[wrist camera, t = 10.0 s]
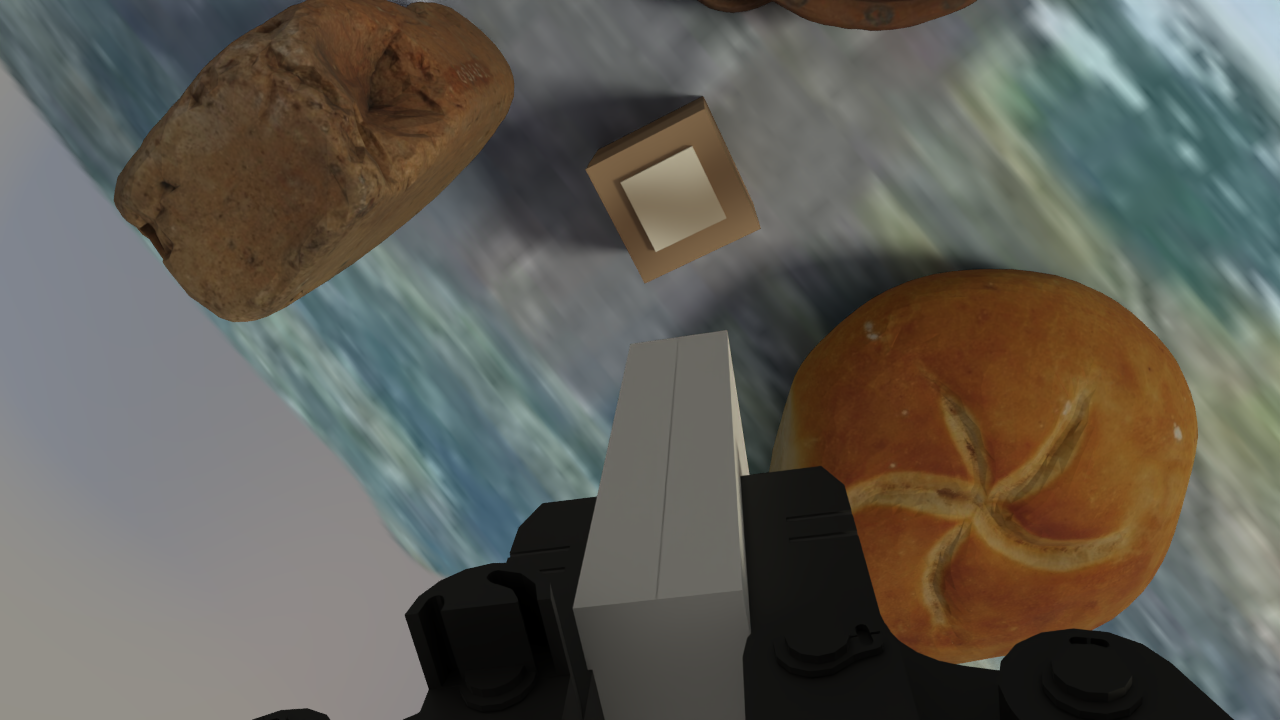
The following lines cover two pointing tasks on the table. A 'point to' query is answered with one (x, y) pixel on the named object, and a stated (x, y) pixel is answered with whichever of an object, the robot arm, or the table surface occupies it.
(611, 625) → the robot arm
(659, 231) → the walnut cube
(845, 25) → the dish
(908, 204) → the table surface
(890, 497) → the bread
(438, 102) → the brown pitted rock
